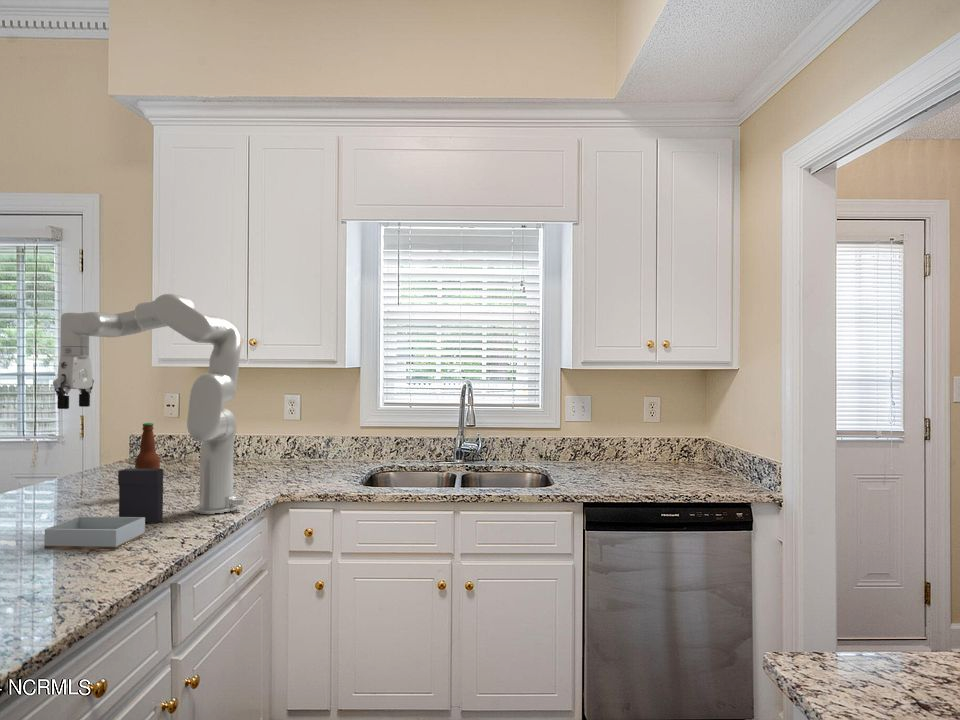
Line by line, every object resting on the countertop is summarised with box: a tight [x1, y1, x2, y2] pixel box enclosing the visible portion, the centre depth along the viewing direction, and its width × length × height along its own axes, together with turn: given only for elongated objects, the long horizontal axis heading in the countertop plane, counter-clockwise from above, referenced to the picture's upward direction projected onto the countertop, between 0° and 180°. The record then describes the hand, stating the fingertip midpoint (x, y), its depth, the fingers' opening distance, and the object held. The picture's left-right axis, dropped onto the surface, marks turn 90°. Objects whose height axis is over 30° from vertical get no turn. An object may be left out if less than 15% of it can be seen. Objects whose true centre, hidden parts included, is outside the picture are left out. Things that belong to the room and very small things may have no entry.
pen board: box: [44, 532, 146, 550], centre depth 157 cm, size 18×13×1 cm
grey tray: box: [44, 515, 146, 547], centre depth 157 cm, size 18×13×4 cm
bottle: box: [134, 422, 161, 469], centre depth 207 cm, size 7×7×25 cm
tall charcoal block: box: [117, 468, 164, 524], centre depth 177 cm, size 11×4×15 cm, turn 92°
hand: (74, 407), depth 193 cm, fingers open, 9 cm apart
